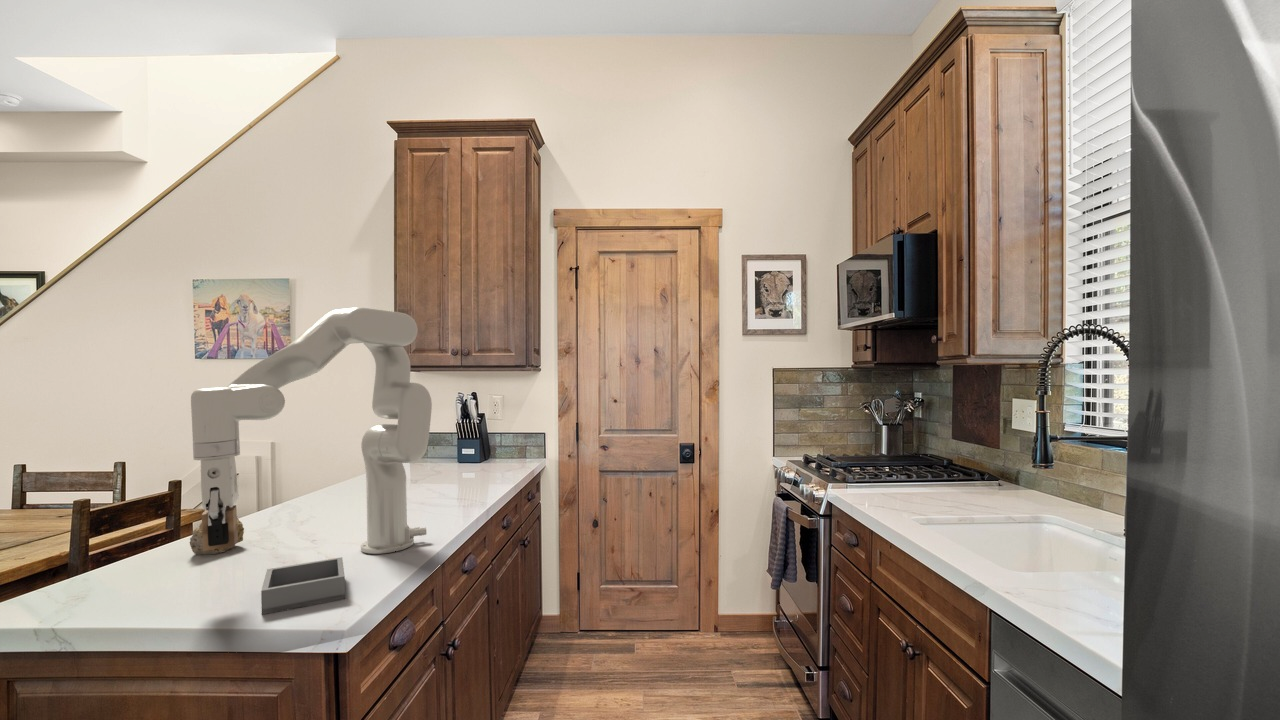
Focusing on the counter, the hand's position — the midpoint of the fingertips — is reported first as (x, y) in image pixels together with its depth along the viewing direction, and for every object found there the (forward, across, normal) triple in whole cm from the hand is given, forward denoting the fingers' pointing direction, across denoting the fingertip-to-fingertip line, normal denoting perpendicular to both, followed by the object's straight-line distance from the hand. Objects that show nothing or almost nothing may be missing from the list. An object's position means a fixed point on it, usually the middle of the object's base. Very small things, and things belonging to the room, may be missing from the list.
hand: (220, 539), depth 116 cm
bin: (+13, -4, -14) cm, 20 cm away
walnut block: (+1, 0, 0) cm, 1 cm away
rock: (+13, +44, +8) cm, 46 cm away
